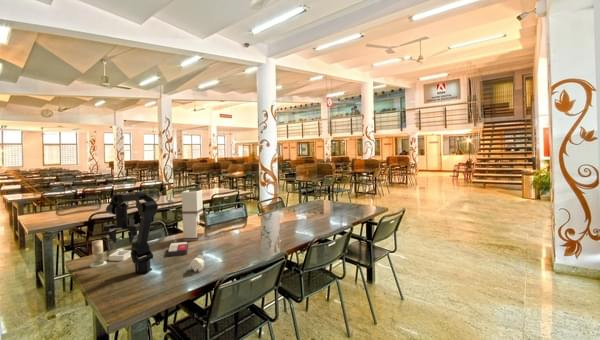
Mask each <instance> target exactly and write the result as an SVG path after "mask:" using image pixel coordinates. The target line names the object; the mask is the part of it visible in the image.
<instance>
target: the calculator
mask: <svg viewBox="0 0 600 340" xmlns="http://www.w3.org/2000/svg"><path fill="white" fill-rule="evenodd" d="M188 250H189V242H188V241H183V242H174V243H173V242H172V243H169V246H168V249H167V257H174V256H175V257H178V256H184V255H187V254H188Z"/></svg>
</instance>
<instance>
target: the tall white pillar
mask: <svg viewBox="0 0 600 340" xmlns="http://www.w3.org/2000/svg"><path fill="white" fill-rule="evenodd" d="M181 205H182V206H181V208H182V211H181V212H182V231H183V233H182V234H183V242H188V241H189V242H190V241H191V242H192V241H200V240H201V239H202V238H203V237H204V236H205V235H204V234H205V233H204V232H198V229H197V228H198V225H200V224H201V223H200V222H201V221H200V215H202V214H203V213H204V209H203V207H204V206H203V190H202V189H200V190H197V191H190V190H189V189H187V190H184V191H181Z"/></svg>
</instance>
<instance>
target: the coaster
mask: <svg viewBox="0 0 600 340" xmlns="http://www.w3.org/2000/svg"><path fill="white" fill-rule="evenodd" d="M107 263H108V261H107V260H106V261H105V260H104V263H103V264H101V265H93V262H92V263H91V264H89V267H90V268H100V267H103V266H105V265H107Z"/></svg>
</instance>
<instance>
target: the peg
mask: <svg viewBox="0 0 600 340" xmlns="http://www.w3.org/2000/svg"><path fill="white" fill-rule="evenodd" d="M103 243H104V242H103V240H102V239H96V240H92V241H91V251H92V263H93V265H101V264H103V263H104V261H105V260H104V244H103Z"/></svg>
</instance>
